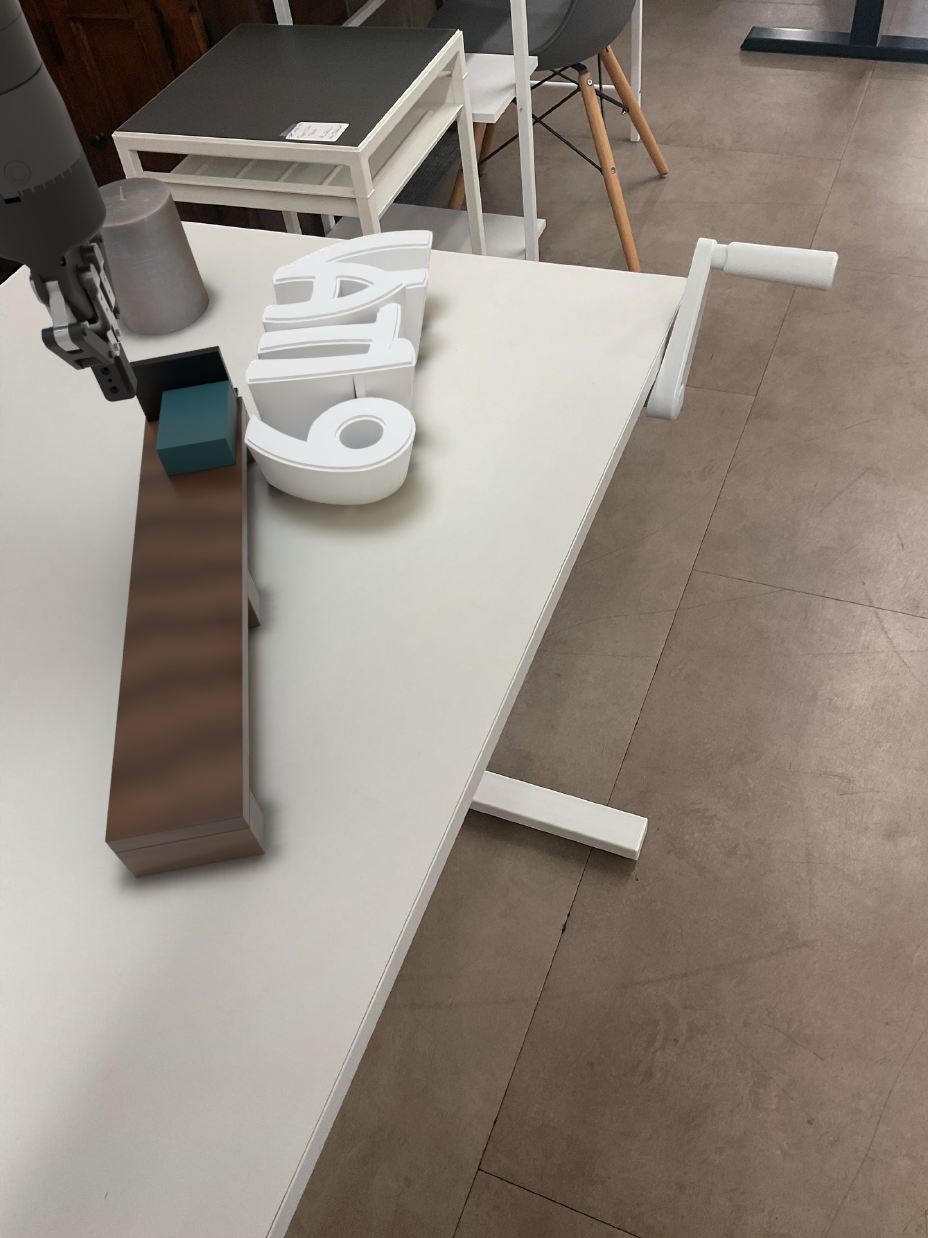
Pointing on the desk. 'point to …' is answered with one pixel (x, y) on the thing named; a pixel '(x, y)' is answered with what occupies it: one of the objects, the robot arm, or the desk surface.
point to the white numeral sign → (341, 369)
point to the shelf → (186, 673)
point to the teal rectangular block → (198, 428)
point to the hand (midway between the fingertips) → (123, 394)
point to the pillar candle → (150, 258)
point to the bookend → (177, 376)
